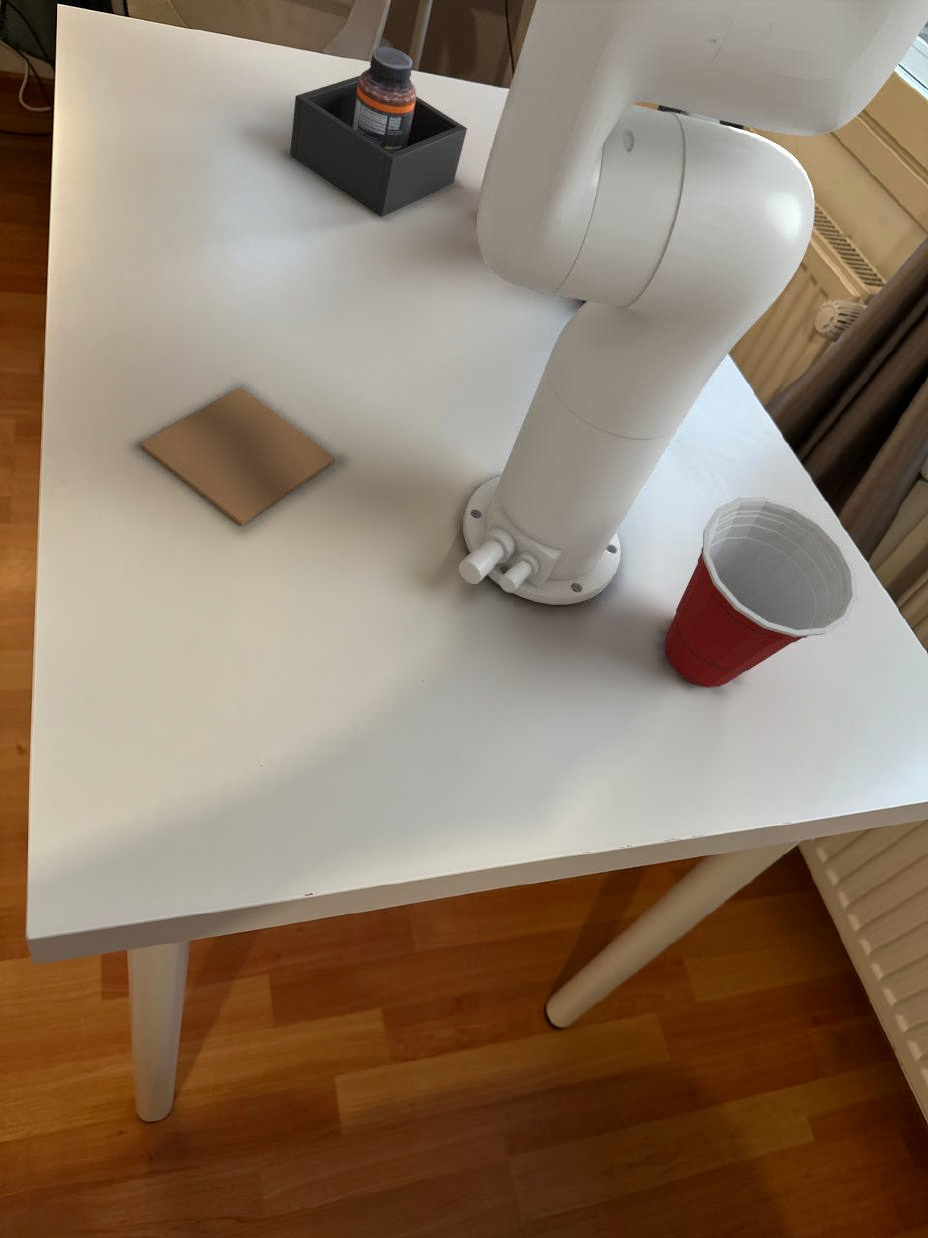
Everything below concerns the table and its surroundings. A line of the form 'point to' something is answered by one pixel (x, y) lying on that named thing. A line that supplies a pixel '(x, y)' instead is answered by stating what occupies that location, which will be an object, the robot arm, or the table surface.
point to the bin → (374, 149)
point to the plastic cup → (757, 590)
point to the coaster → (239, 455)
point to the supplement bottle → (386, 100)
